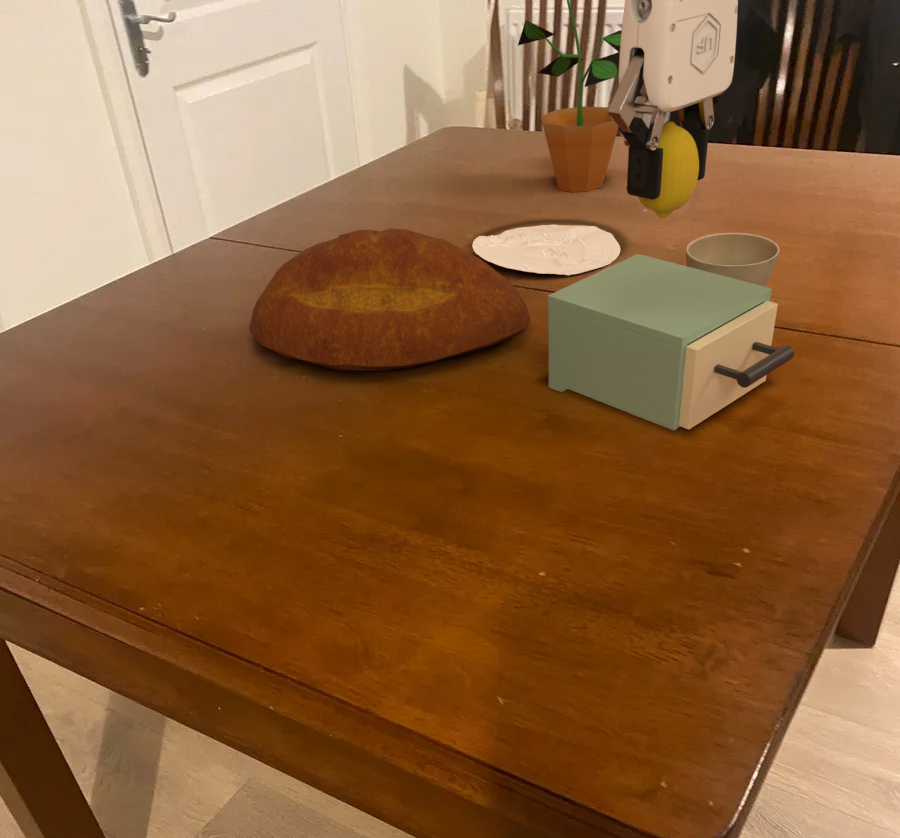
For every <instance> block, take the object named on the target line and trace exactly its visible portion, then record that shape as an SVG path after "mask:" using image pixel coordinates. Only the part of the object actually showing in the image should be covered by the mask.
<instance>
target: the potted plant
mask: <svg viewBox="0 0 900 838" xmlns="http://www.w3.org/2000/svg"><path fill="white" fill-rule="evenodd" d="M566 4H567V8H568V12H569V13H568V14H569V16H570V21H571V24H572V28H573V33H574V40H575V46H576V52H577V53H574V54H573V53H572V54H570V53H563V52H562V51H560V49H558V48H557V46H556V45H554V44H553V43H552V42H551V41H550V40H549V39H548V38H550V37H553V36H555V35H556V33H554V32H552V31H549V30H548V29H545V28H543V27H542V26H539V25H538V24H535V23H533V22H531V21H529V20H526V19H525V21H524V23H523V28H522V29H521V34H520V36H519V40H518V43H517V46H522V45H525V44H529V43H533V42H536V41H540V40H545V41H546V42H547V43H548V44H549V46H550V47H551V48H552V50H554V51H555V52H556V54H557V55H558V57H556V58H555V59H553V60H552V61H551V62H550V63H548V64H547V65H546V66H545V67H542V69H540V70H539V71H538V72H537V74H542V75H547V76H550V77H555V78H556V77H557V78H559V77H561V76H562V75H564V73H566V72H568V71H569V70H570V69H572V68H573V67H574V66H576V65H578V79H579V81H578V94H577V106H574V107H567V108H559V109H555V110H553V111H550V112H548V113H546V114H542V115H540V119H541V123H542V126H543V131H544V135H545V139H546V143H547V147H548V153H549V155H550V159H551V165H552V168H553V172H554V176H555V182H556V184H557V188H558V190H561V191H565V192H568V193H585V192H590V191H593V190H598V189H600V188H601V187H602V185H603V184H604V181H605V177H606V174H607V169H608V166H609V163H610V159H611V156H612V152H613V149H614V146H615V145H614V144H615V141H616V138H617V134H618V130H619V127H618V126H617V125H616V123H615V122H614V121H613V119H612V118H611V117H610V116H609V113H608V110H609V106H608V107H607V106H588V105H587V106H585V105H583V91H584V88H587V87H589V86H592V85H597V84H600V83H602V82H605V81H608V80H612V79H615V78H617V77H618V76H619V59H620V44H621V33H622V29H621V30H617V31H614V32H613V33H610V34H607V35H606V36H604V37H601V39H602V41H601V42H600V44H599V46H598V48H597V50H596V52H595V54H594V56H593V58H592V60H591V61H590V64H589V65H588V67H587V68H586V71H585V72H584V74H583V63H582V61H583V60H584V58H582V51H581V47H580V46H581V45H580V41H579V36H578V30H577V26H576V22H575V18H574V14H573V10H572V6H571V2H570V0H566ZM604 42H606V43H607V45H609V46H611V47H612V49H614V50H615V51H617V52H615V53H612V54H609V55H606V56H603V57H600V58H597V56H598V54H599V52H600V50H601V48H602V45H603V44H604ZM596 58H597V59H596ZM585 80H586V81H585ZM584 82H585V83H584ZM583 87H584V88H583Z"/></svg>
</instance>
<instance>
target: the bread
mask: <svg viewBox="0 0 900 838" xmlns="http://www.w3.org/2000/svg"><path fill="white" fill-rule="evenodd" d="M531 321H532V318H531V316H530V312H529V309H528V306H527V304H526V302H525V301H524V299H523V298H522V296H521V295H520V293H519V292H518V290H517V289H516V288H515V286H514V285H513V283H512V282H510V280H509V279H508V278H506V277H505V276H503V275H502V274H501V273H500V272H498V271H497V270H495V268H493V267H492V266H491V265H490V264H488V263H487V262H485V261H484V259H481V258H479V257H478V256H476V255H474V254H473V253H470V252H468V251H466V250H464V249H463V248H461V247H459V246H458V245H455V244H453V243H451V242H449V241H448V240H446V239H444V238H438V237H434V236H430V235H426V234H423V233H421V232H417V231H414V230H410V229H407V228H406V229H405V228H393V227H390V228H388V229H385V230H373V229H357V230H354V231H351V232H346V233H343V234H339V235H338V237H335V238H333V239H330V240H326V241H322V242H319V243H317V244H314V245H312V246H309V247H307V248H305V249H304V250H302V251H301V252H300V253H298V254H297V255H296V254H295V256H293V257H292V258H290V259H289V260H287V261H286V262H284V263H283V264H282V265H281V266H280V267H278V269H277V270H276V271H275V273H274V275H273V276H272V278H271V279H270V280H269V282H268V283H267V285H266V287H265V288H264V289H263V292H262V293H261V294H260V296H259V298H258V299H257V301H256V302H255V304H254V307H253V309H252V314H251V318H250V322H249V323H250V324H249V328H248V330H249V333H250V335H251V337H252V338H253V339H254V340H255V341H256V342H257V343H258V344H259V345H260V346H262V347H264V348H266V349H267V350H270V351H272V352H274V353H276V354H278V355H280V356H283V357H284V358H286V359H287V358H288V359H295V360H298V361H302V362H304V363H309V364H313V365H317V366H320V367H324V368H327V369H332V370H334V371H352V372H353V371H354V372H355V371H356V372H386V371H394V370H400V369H406V368H412V367H413V368H415V367H419V366H423V365H427V364H430V363H434V362H438V361H442V360H446V359H451V358H454V357H457V356H461V355H465V354H469V353H472V352H475V351H479V350H482V349H484V348H488V347H492V346H494V345H497V344H499V343H501V342H504V341H506V340H508V339H510V338H513V337H516V336H518V335H520V334H522V333H523V331H525V330H526V329H527V328H528V326H529V325H530V323H531Z"/></svg>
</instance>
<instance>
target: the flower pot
mask: <svg viewBox="0 0 900 838" xmlns="http://www.w3.org/2000/svg"><path fill="white" fill-rule="evenodd" d="M779 255H780V246H779V245H778V243H776V242H775V241H774V240H772V239H770V238H767V237H765V236H762V235H759V234H753V233H745V232H719V233H712V234H707V235H704V236H700V237H698V238H695V239H694V240H692V241H690V242H689V243H688V244H687V246H686V249H685V257H686V259H685V260H686V266H687V267H691V268H695V269H699V270H703V271H706V272H710V273H714V274H718V275H722V276H726V277H729V278H733V279H737V280H741V281H745V282H749V283H752V284H756V285H760V286H764V287H767V285H768V283H769V282H770V279H771V278H772V274H773V272H774V270H775V267H776V265H777V262H778V258H779Z"/></svg>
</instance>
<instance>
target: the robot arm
mask: <svg viewBox="0 0 900 838" xmlns="http://www.w3.org/2000/svg"><path fill="white" fill-rule="evenodd" d="M738 7H739V0H624V8H623V15H622V23H621V24H622V26H621V30H622V33H621V44H620V59H619V71H618V86H617V90H616V91H615V93H614V95H613V98H612V100H611V102H610V104H609V106H608V107H609V110H608V113H609V116H610V117H611V118H612V119H613V121H614V122H615V123H616V125H617V126H618V130H619V132H620V133H621V135H622V136H623V143H624V145H625V146H626V147H628V154H627V155H628V157H627V176H626V193H627V195H629V196H633V197H634V196H635V197H643V198H647V199H652V200H654V199H656V198H658V197H659V196H660V191H661V177H662V162H663V148H657V147H658V144H659V141H660V137H661V133H662V129H663V125H664V123H665V122H666V121H665V120H666V117H667V113H671V112H675V111H678V118H679V124H680V126H681V127H682V128H683V129H685V130H686V131H688V132H689V133H690V134H691V136H692V137H693V139H694V141H695V143H696V146H697V151H698V157H699V174H698V180H697V182H699V181H701V180H703V179H704V178H705V175H706V165H707V155H708V154H707V153H708V145H709V144H708V143H709V135H710V130H711V129H712V127H713V125H714V123H715V112H716V109H717V108H718V106H719V104H720V101H721V99H722V94H723V93H724V92H725V91H726V90H727V89H728V88H730V86H731V85H732V82H733V77H734V69H735V59H736V46H737V31H738V28H737V27H738ZM648 102H649V104H647V103H648ZM644 115H651V117H650V121H649V126H647V124H646V122H645V121H644Z"/></svg>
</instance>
